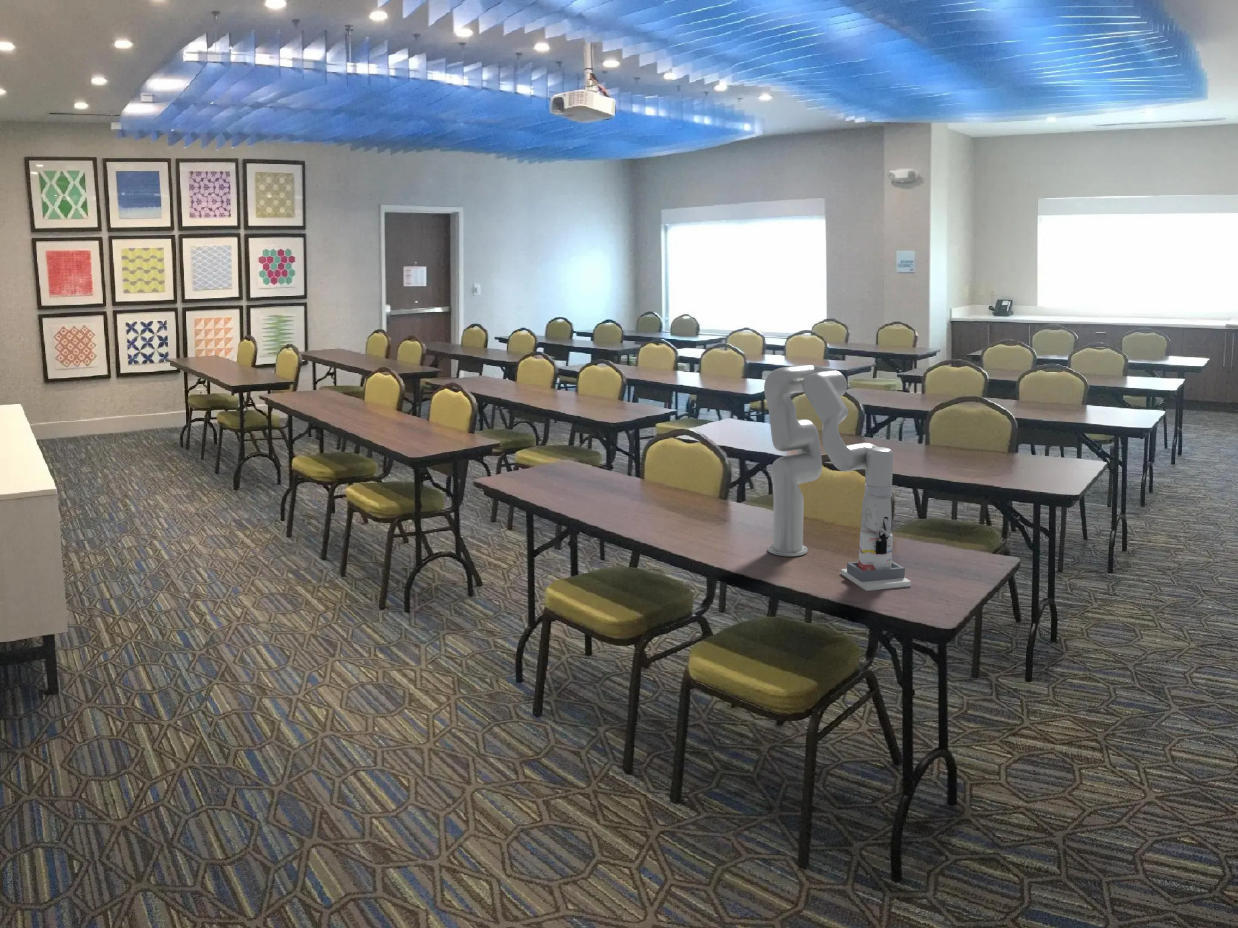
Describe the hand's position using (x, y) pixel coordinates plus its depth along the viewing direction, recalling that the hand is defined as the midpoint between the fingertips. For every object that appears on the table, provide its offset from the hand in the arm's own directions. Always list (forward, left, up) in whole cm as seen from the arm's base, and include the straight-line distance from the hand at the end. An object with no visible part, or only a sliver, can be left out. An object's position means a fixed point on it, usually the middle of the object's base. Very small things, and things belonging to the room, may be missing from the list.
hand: (875, 549), depth 280 cm
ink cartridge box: (0, 0, -7) cm, 7 cm away
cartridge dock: (0, 0, -9) cm, 9 cm away
